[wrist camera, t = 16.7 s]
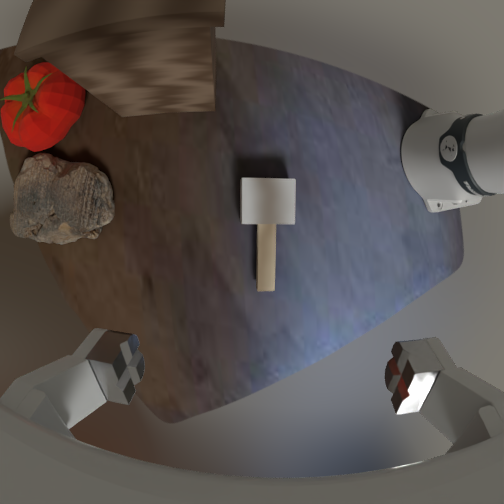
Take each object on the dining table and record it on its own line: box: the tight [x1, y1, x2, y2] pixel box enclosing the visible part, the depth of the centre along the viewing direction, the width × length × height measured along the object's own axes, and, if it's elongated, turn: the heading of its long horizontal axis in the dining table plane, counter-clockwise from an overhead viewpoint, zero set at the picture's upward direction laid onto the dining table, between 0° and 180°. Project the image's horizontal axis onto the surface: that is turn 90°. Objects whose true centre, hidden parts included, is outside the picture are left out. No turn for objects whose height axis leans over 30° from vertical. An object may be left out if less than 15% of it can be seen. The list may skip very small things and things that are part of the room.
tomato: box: [0, 62, 85, 152], centre depth 30 cm, size 13×14×12 cm
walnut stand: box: [14, 0, 226, 117], centre depth 25 cm, size 16×7×26 cm, turn 90°
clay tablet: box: [10, 153, 114, 245], centre depth 37 cm, size 14×5×20 cm
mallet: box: [240, 178, 296, 291], centre depth 41 cm, size 7×16×4 cm, turn 179°
